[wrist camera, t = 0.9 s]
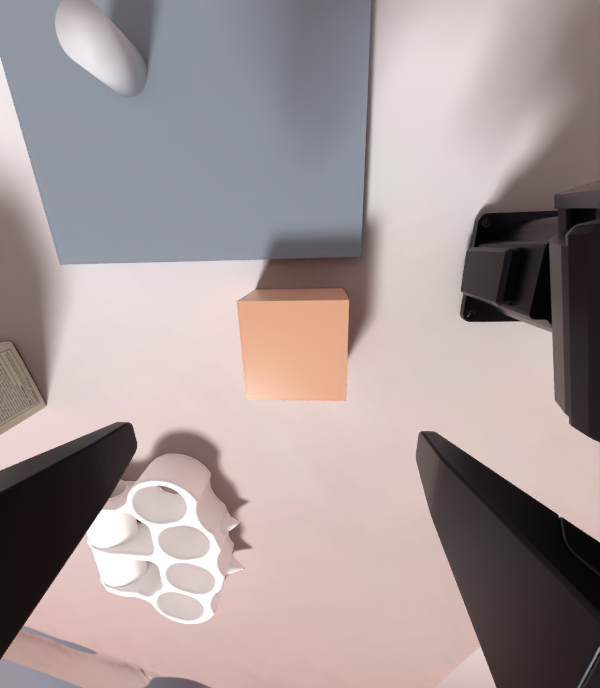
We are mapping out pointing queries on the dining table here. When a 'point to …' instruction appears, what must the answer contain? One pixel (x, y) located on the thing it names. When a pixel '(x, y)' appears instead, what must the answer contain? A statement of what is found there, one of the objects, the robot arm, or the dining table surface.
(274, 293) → the orange block
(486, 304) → the robot arm
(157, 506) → the white egg tray
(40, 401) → the skincare box
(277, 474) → the dining table surface
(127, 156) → the base plate
